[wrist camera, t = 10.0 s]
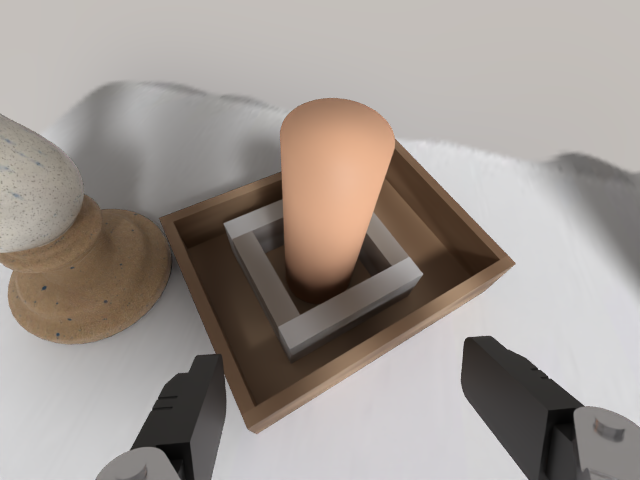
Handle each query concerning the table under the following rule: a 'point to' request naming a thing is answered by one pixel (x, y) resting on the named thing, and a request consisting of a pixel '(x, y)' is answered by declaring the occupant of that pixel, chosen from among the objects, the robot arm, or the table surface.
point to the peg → (329, 191)
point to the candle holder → (71, 247)
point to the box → (340, 311)
